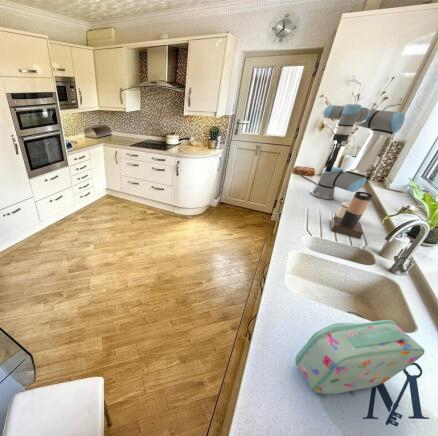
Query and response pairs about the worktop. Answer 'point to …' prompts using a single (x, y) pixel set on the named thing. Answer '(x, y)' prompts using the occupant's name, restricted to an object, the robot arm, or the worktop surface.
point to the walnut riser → (346, 228)
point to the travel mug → (356, 208)
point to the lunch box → (356, 356)
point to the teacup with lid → (342, 209)
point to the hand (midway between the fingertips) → (327, 168)
